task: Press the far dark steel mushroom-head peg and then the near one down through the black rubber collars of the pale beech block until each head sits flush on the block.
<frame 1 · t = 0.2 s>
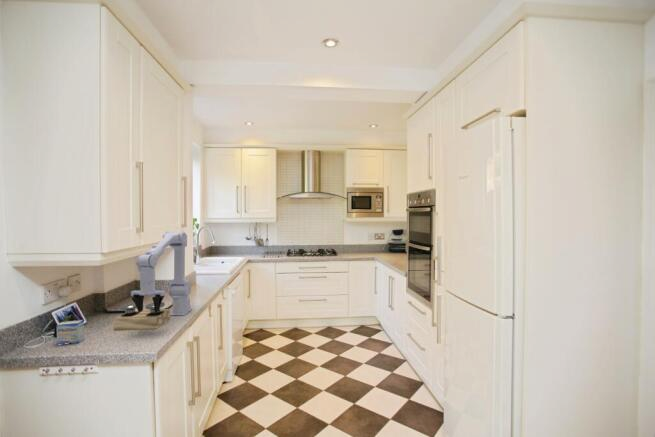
hand: (148, 311, 135), 10 cm above the countertop, tool pointing down, fingers open, 7 cm apart
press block: (143, 324, 147), on the countertop
medicine box: (71, 342, 128), on the countertop
peg far: (130, 309, 147), point 7 cm above the countertop, slide at 0.0 cm
peg near: (155, 309, 147), point 7 cm above the countertop, slide at 0.0 cm
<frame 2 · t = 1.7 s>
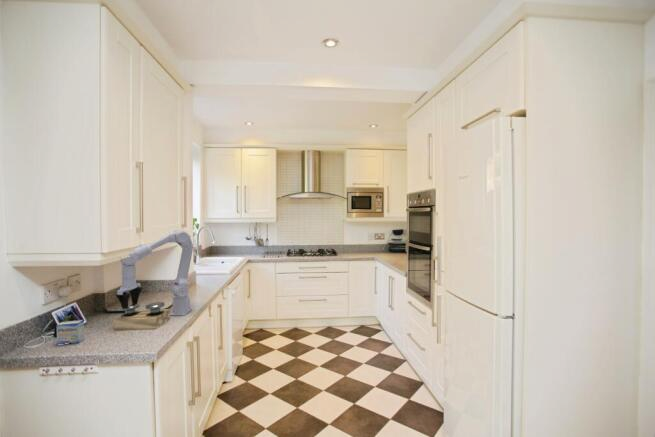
hand: (130, 305, 147), 9 cm above the countertop, tool pointing down
peg far: (130, 310, 147), point 7 cm above the countertop, slide at 0.2 cm, touching gripper
everything else where it was.
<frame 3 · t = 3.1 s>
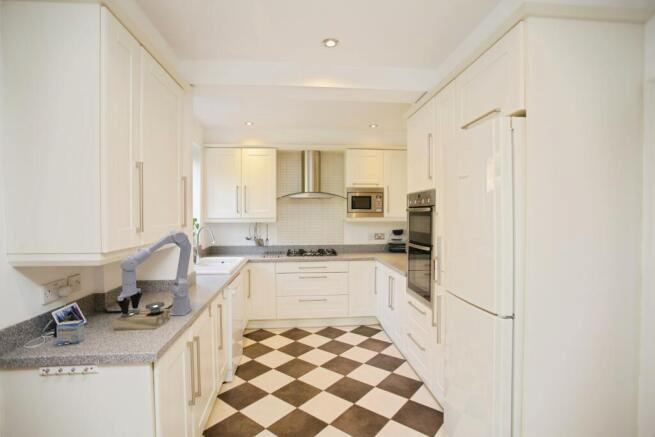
hand: (130, 311, 147), 7 cm above the countertop, tool pointing down, fingers open, 7 cm apart
peg far: (130, 317, 147), point 4 cm above the countertop, slide at 3.5 cm, touching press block
everything else where it was.
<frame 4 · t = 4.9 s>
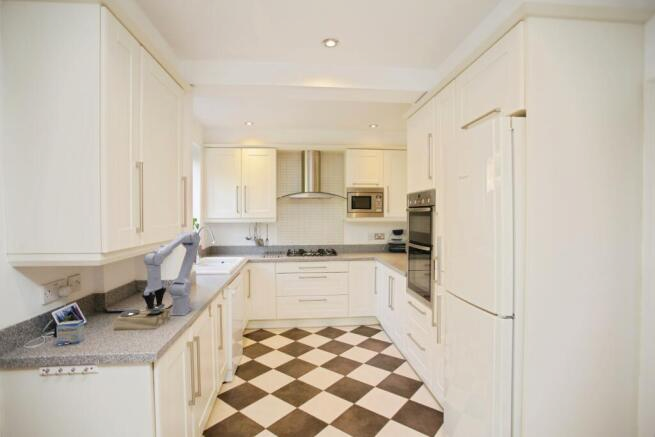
hand: (155, 305, 147), 9 cm above the countertop, tool pointing down
peg near: (155, 310, 147), point 6 cm above the countertop, slide at 0.7 cm, touching gripper
everything else where it was.
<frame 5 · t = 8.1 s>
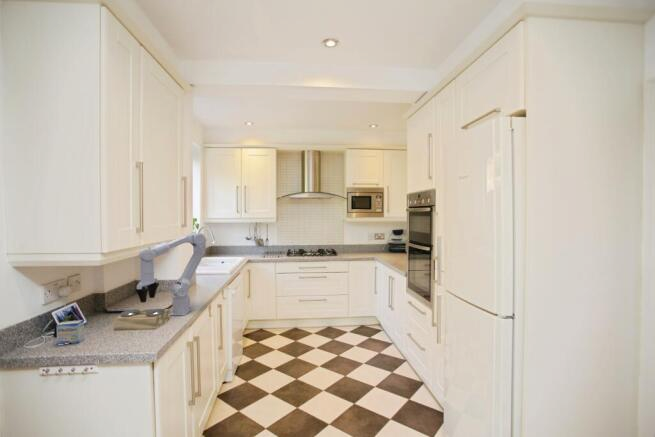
hand: (147, 299, 151), 10 cm above the countertop, tool pointing down, fingers open, 7 cm apart
peg near: (155, 316, 147), point 4 cm above the countertop, slide at 3.5 cm, touching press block
everything else where it was.
at the end: peg far slide at 3.5 cm; peg near slide at 3.5 cm; medicine box moved 0.3 cm from its start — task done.
